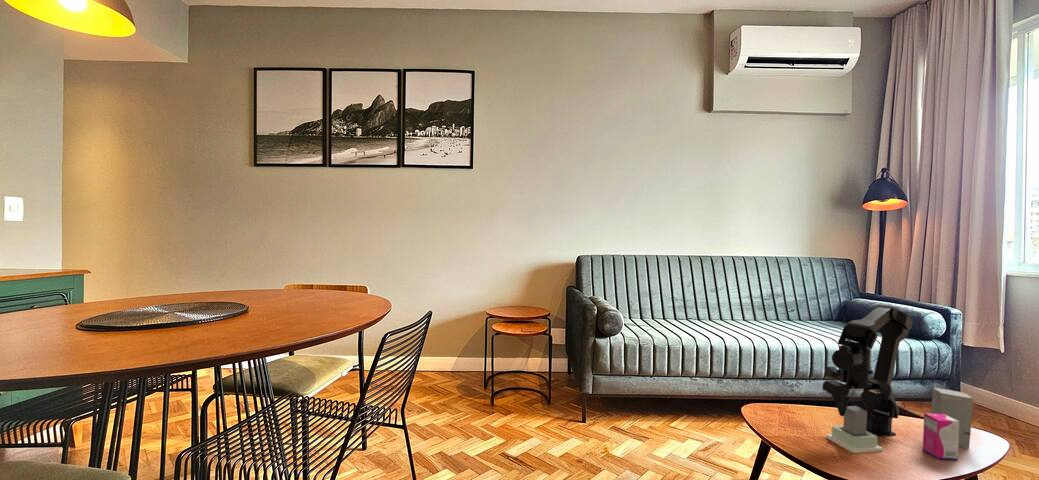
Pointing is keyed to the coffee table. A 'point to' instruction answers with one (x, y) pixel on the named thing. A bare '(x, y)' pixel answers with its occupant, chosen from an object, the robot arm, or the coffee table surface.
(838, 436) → the socket block
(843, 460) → the coffee table surface
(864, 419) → the peg
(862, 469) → the coffee table surface
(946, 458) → the supplement box
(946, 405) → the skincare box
